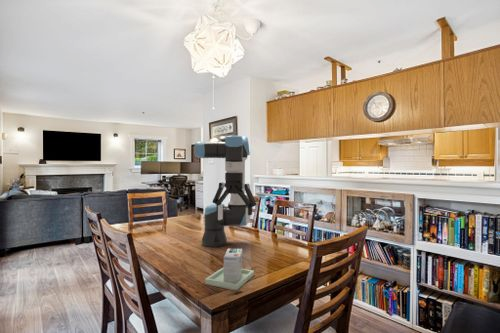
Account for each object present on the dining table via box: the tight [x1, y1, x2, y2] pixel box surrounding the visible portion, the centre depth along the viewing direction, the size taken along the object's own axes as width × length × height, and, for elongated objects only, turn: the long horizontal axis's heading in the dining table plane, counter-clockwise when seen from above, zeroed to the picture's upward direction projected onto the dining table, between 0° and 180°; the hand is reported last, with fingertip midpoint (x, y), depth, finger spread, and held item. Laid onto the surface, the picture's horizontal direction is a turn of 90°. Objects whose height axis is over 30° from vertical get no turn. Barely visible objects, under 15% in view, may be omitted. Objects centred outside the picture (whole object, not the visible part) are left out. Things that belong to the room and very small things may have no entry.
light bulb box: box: [223, 248, 243, 283], centre depth 114 cm, size 11×7×11 cm, turn 177°
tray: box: [204, 266, 255, 292], centre depth 114 cm, size 14×16×2 cm
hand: (233, 221), depth 118 cm, fingers open, 13 cm apart
